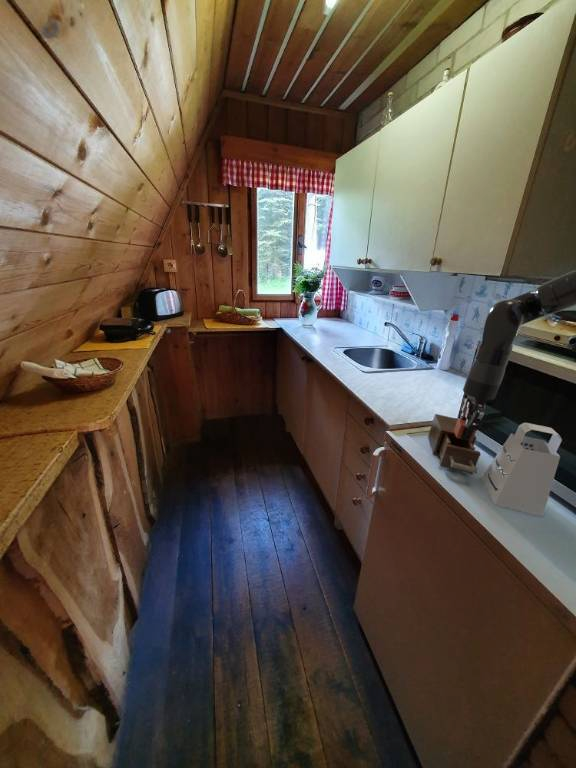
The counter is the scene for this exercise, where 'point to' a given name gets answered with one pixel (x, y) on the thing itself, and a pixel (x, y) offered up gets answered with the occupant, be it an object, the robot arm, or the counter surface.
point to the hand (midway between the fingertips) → (463, 435)
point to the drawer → (458, 454)
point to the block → (461, 429)
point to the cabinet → (442, 431)
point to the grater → (524, 471)
